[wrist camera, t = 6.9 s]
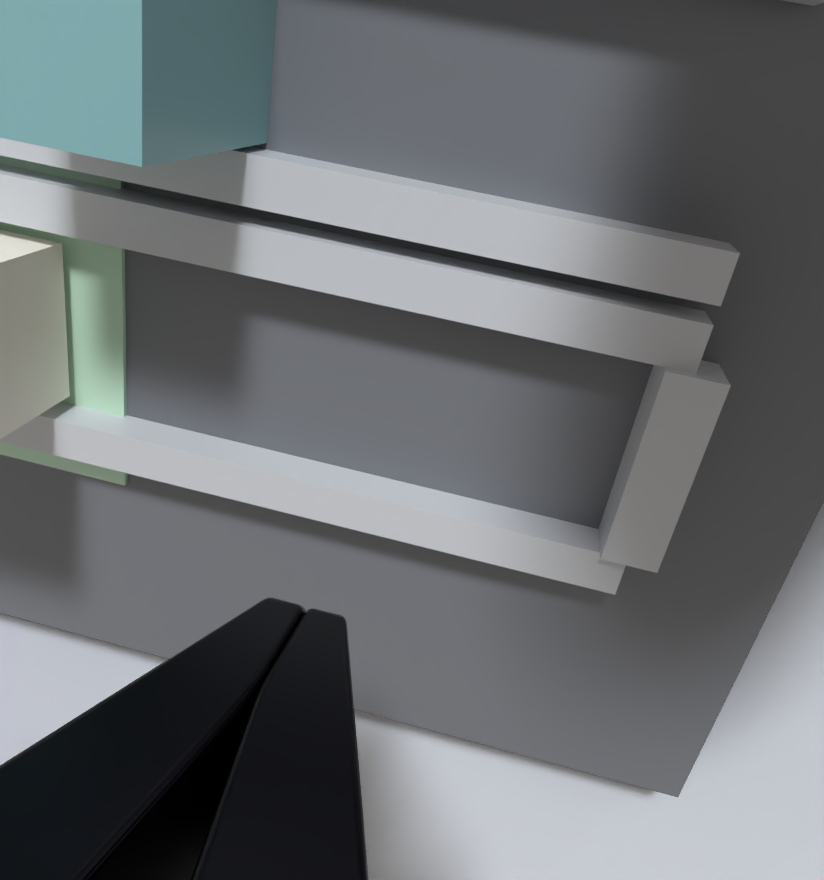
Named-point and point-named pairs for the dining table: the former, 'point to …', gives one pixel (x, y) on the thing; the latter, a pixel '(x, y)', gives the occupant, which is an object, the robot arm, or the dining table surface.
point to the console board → (429, 344)
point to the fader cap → (31, 329)
